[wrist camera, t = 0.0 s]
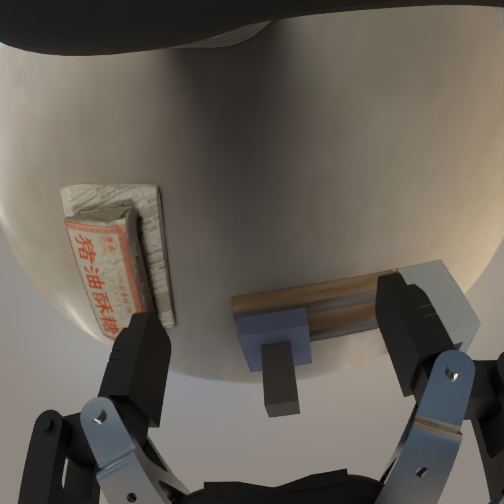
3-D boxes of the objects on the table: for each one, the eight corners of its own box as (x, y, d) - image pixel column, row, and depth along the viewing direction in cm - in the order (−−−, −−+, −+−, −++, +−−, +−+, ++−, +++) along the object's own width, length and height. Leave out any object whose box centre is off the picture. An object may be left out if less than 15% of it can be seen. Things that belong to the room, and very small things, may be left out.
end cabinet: (396, 268, 33) (431, 338, 25) (441, 259, 32) (480, 323, 24) (388, 317, 38) (413, 382, 30) (428, 308, 37) (457, 368, 29)
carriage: (237, 317, 33) (237, 398, 25) (304, 307, 32) (320, 387, 25) (250, 355, 37) (252, 426, 29) (308, 346, 36) (320, 417, 29)
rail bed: (232, 297, 35) (231, 313, 33) (392, 269, 33) (400, 283, 31) (246, 341, 39) (246, 355, 38) (385, 316, 38) (390, 330, 36)
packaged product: (171, 352, 34) (91, 343, 33) (177, 319, 37) (102, 313, 37) (147, 206, 23) (40, 207, 22) (161, 179, 27) (64, 182, 26)
